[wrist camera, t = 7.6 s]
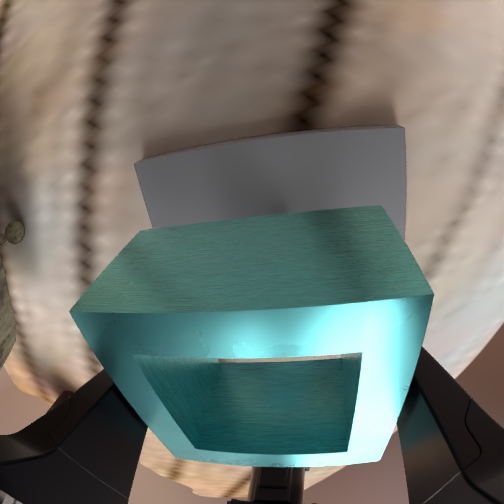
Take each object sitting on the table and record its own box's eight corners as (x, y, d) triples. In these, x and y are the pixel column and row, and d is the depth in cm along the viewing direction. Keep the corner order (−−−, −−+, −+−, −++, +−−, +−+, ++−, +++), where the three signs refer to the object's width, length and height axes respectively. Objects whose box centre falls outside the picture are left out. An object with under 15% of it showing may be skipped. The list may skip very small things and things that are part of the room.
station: (392, 304, 16) (417, 387, 11) (193, 317, 19) (162, 395, 14) (397, 124, 12) (461, 154, 7) (143, 158, 14) (68, 204, 9)
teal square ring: (368, 374, 11) (379, 460, 8) (199, 379, 13) (175, 457, 9) (381, 204, 8) (433, 293, 4) (140, 230, 9) (69, 311, 6)
